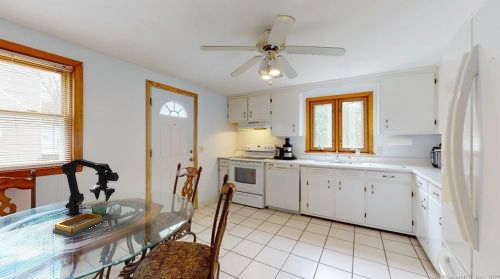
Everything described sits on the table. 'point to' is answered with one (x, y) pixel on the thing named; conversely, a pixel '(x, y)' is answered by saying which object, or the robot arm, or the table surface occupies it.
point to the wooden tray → (77, 224)
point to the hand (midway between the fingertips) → (101, 200)
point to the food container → (100, 208)
